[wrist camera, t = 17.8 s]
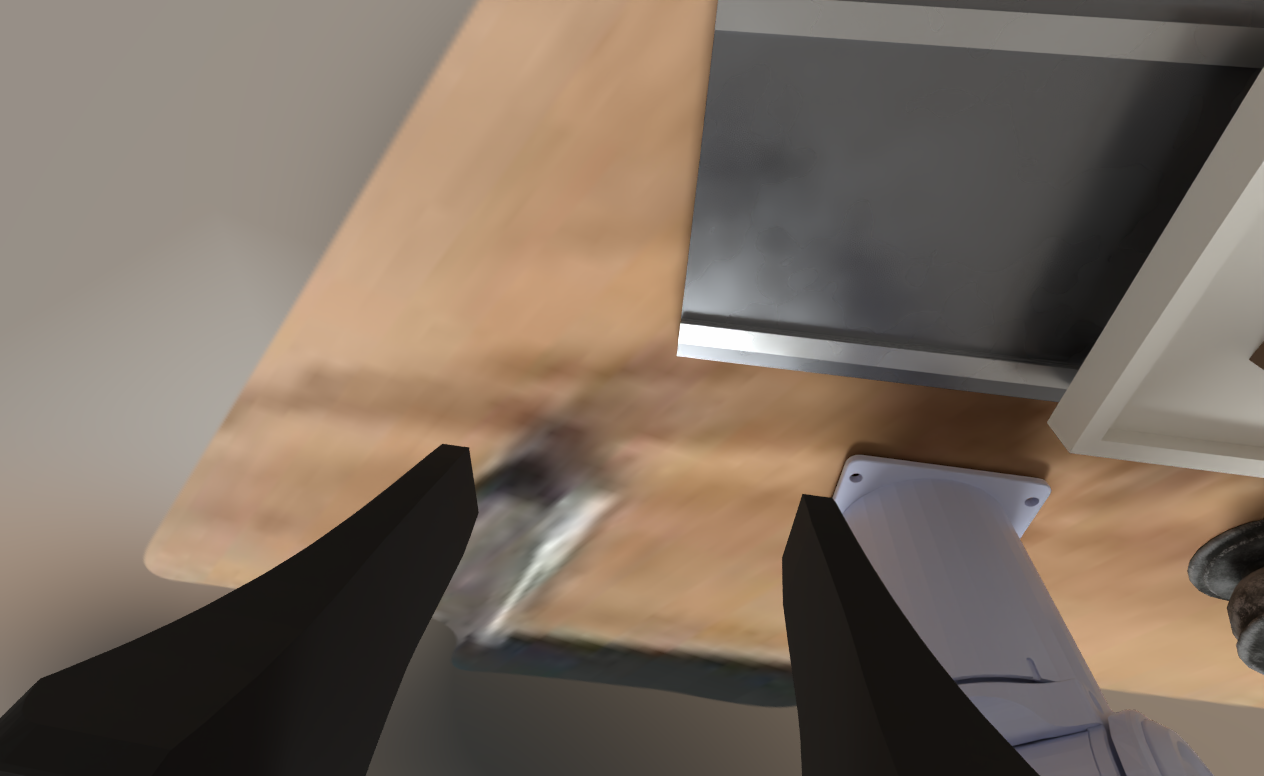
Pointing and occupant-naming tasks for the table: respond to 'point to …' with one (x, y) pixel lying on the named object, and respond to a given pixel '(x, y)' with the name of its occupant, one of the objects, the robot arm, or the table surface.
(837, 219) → the dark grey tray
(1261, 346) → the plain brown block
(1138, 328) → the white recessed tray
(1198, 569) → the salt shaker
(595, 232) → the table surface
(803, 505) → the robot arm
